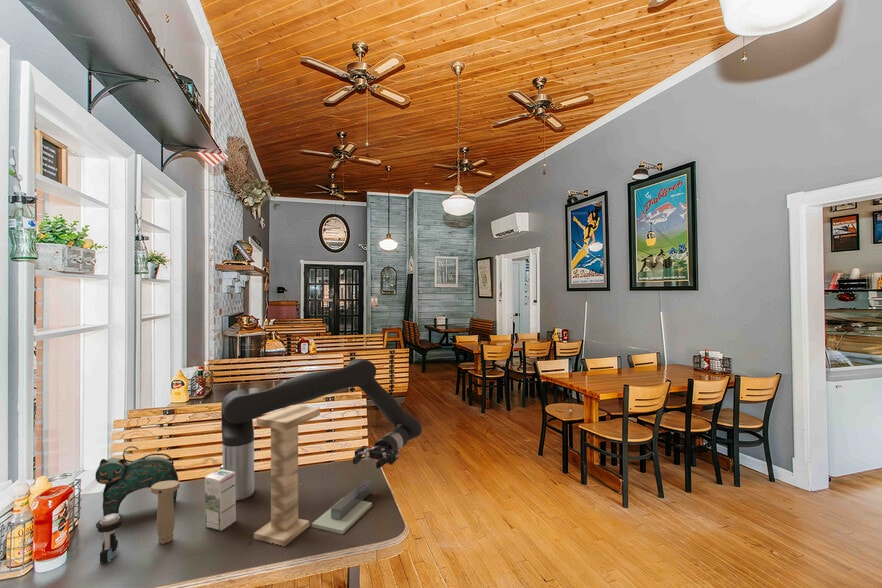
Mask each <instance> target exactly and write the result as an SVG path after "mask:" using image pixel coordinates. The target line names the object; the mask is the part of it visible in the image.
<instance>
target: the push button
mask: <svg viewBox="0 0 882 588" xmlns="http://www.w3.org/2000/svg"><path fill="white" fill-rule="evenodd" d="M123 521H124V516H123V515H120V514H119V513H118V514H117V513H113V514H109V515H106V516H104V517H101V519H100V520H98V522H96V523H95V527H96V529H97V532H98V533H99V534H100V533H101V534H104V540H103V543H102V544H101V545H102V547H101V549H102V550H101V551H100V553H99V563H100V564H102V563H101V562H105V563H109V562H108V561H110V560H111V559H112V558H113V559H114V558H115V556H116V557H117V556H118V555H119V540H118V539H117V535H116V530H118V529H119V528H120V527H121V526H122V524H123ZM115 554H116V555H115ZM114 555H115V556H114ZM113 559H112V560H113ZM112 560H111V561H112Z"/></svg>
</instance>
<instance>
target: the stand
mask: <svg viewBox="0 0 882 588" xmlns="http://www.w3.org/2000/svg"><path fill="white" fill-rule="evenodd" d="M319 416H321V408H319V407H311V406H305V405H304V406H303V405H298V404H296V405H290V406H288V407H285V408H282V409H278V410H274V411H271V412H269V413H266V414H263V415H261V416H258V417H256V427H262V428H267V429H270V521H269V522H267V523H265V525H263V526H262V527H260V528H259V529H258V530H256V531H255V532H253V539H254V540H258V541H261V542H266V543H268V542H269V544H272V543H274V544H273V545H276V544H278V545H277V546H279V545H281V547H283V548H284V547H286V546H287V545H288V544H290V543H291V542H292V541H293V540H294V539H296V538H297V537H298V536H300V534H302V533H303V532H304V531H305V530H306V529H308V528H309V527H310V521H309V520H307V519H304V518H303V519H302V518H299V426H300V425H301V424H303V423H306V422H308V421H310V420H312V419H316V418H318V417H319Z"/></svg>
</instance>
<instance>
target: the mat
mask: <svg viewBox="0 0 882 588" xmlns="http://www.w3.org/2000/svg"><path fill="white" fill-rule="evenodd" d="M344 497H345V496H343V497H342V498H341V499H340V500H342V499H343V498H344ZM340 500H339V501H340ZM339 501H336V503H334V505H336V504H337V503H338V502H339ZM334 505H332V506H331V507H330V508H328V510H326V511H325V512H324V513H323V514H321V515H320V516H319V517H318V518H317V519H316V520H314V521H313V522H312V523H311V527H312V528H314V529H319V530H323V531H328V532H331V533H335V534H339V535H344V533H346V532H347V531H348V530H349V529H350V528H351V527H352V526H353V525H354V524H355V523H356V522H357V521H358V520H359V519H360V518H361V517H362V516H363V515H364V514H366V512H367V511H368V510H369V509H370V508H371V507H372V506H373V502H369V501H366V500H362V501H361V502H360V503H359V504H358V505H357V506H355V507H354V508H353V509H352V510H351V511H350V512H349V513H348V514H347V515H346V516H345V517H344V518H342V519H341V520H340V521H339V520H335V519H331V508H332V507H333V506H334Z"/></svg>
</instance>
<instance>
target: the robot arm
mask: <svg viewBox="0 0 882 588" xmlns="http://www.w3.org/2000/svg"><path fill="white" fill-rule="evenodd" d="M376 375H377V368H376V366H375V364H374V363H373V362H372V361H370V360H368V359H363V358H354V359H352V360H350V361H349V362H348V363H347V365H346V366H343V367H341V368H337V369H330V370H322V371H314V372H309V373H305V374H301V375H300V374H299V375H297V376H294V377H291V378H289V379H287V380H285V381H283V382H280V383H279V384H277V385H275V386H274V387H272V388H269V389H266V390H262V391H257V392H252V393H248V392H247V391H245V390H242V389H237V390H232V391H230V392H229V393H227V394H226V395H225V396H224V398H223V400H222V402H221V411H220V412H221V413H220V414H221V439H222V441H221V442H222V445H221V446H222V449H221V450H222V465H220V468H219V470H220V469H222V470H227V471H232V472H235V494H236V502H237V501H240V500H244V499H247V498H249V497H251V496H252V495H253V494H254V491H255V433H254V422H253V419H257V418H259V417H262V416H264V415H267V414H269V413H272V412H275V411H277V410H280V409H283V408H285V407H288V406H290V405H298V404H303V403H307V402H309V401H313V400H316V399H319V398H321V397H324V396H326V395H330V394H333V393H335V392H338V391H341V390H345V389H349V388H354V387H358V388H359V389H360V390H361V391H363V392H364V393H365V395H366V396H367V397H368V398H369V399H370V400H371V401H372V403H374V405H375V406H376V407H377V409H378V410H379V411H380V413H381V414H382V415H383V416H384V417H385V418H386V420H388V422H389V423H390V424H391V425H394V426H395V425H397V426H395V427H394V429H393V430H391V431H390V432H388V433H386V434H384V435H383V436H382V437H381V438H379V439H378V440H376V442H375V443H374V444H373V446H371V447H368V448H367V445H363V446H361V447H358V448H357V449H356V450H355V451H354V457H352V464H353V465H355V466H356V465H357V464H359V463H360V462H361V461H364V460H365V461H370V460H377V461H376V463H375V467H376V469H378V470H379V469H380V468H382V467H383V466H384V465H385V466H386V465H387V464H388V465H390V466H392V465H394V464H395V462H397V461H398V459H399V452H400V450H401V449H402V448H403V447H405V446H406V445H407V444H408V442H409V441H412V440H413V439H415V438H417V437H419V436H420V435H421V434H422V432H423V428H422V424H421V423H420V421H419V420H418V419H417V418H415V417H414V416H413V415H411V414H410V413H409V412H407V411H406V410H404V409H403V407H402V406H401V405H400V404H399V403H398V401H397V400H396V399H395V398H394V396H392V395H391V394H390V393H389V392H388V391H387V390H386V389H385V388H384V387H383V386H382V385H381V384H380V383H379V382H378V381H377V380H376V378H375V377H376Z"/></svg>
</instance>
